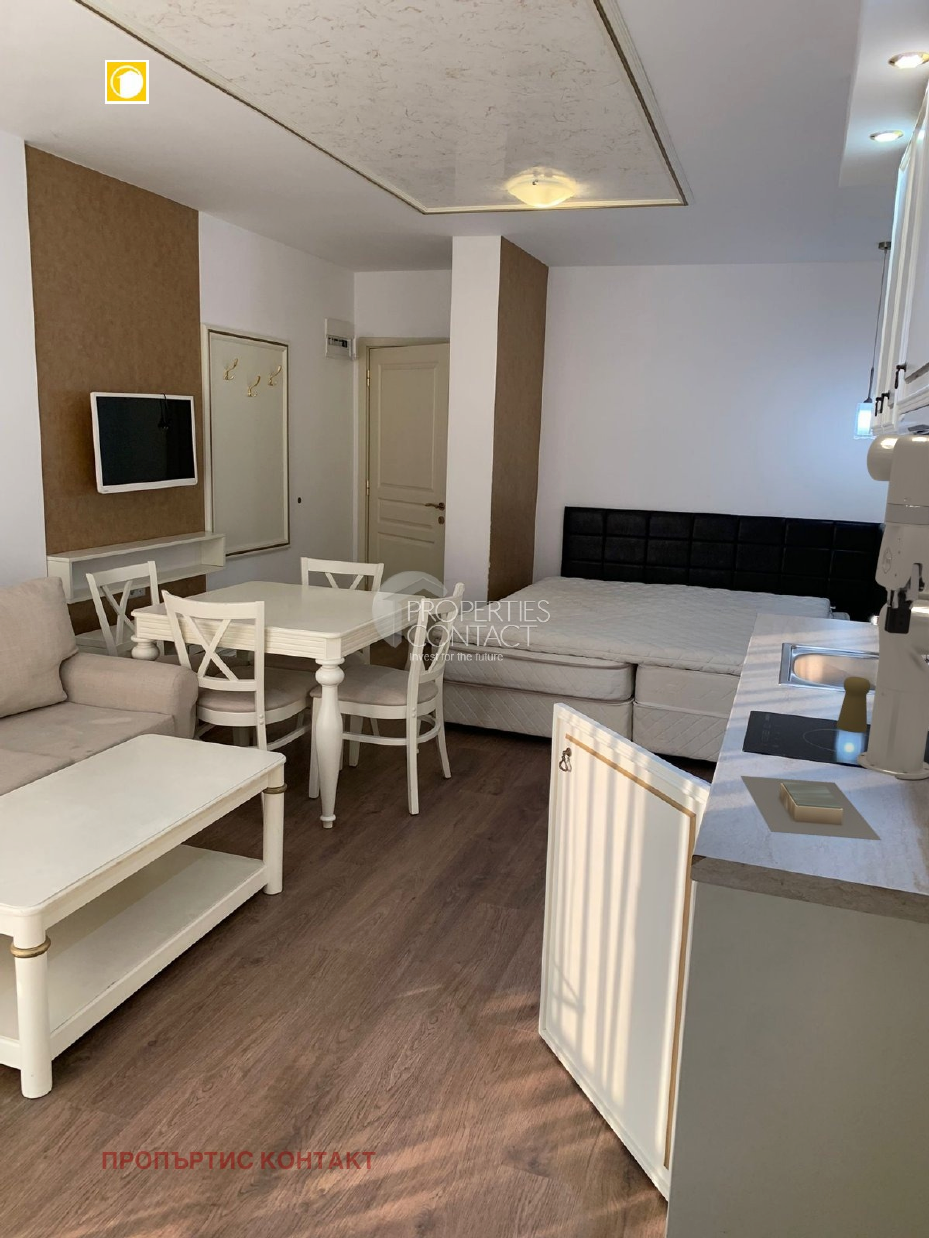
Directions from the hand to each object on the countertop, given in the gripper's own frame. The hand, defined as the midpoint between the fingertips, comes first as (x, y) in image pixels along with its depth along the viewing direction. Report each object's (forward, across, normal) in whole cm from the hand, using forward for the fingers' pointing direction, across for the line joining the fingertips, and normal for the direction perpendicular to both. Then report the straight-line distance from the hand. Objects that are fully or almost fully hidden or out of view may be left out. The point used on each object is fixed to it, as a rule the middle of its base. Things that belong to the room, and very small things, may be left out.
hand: (896, 632), depth 148 cm
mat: (+29, +4, -12) cm, 32 cm away
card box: (+27, +1, -12) cm, 30 cm away
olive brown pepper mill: (+29, -45, +10) cm, 55 cm away
